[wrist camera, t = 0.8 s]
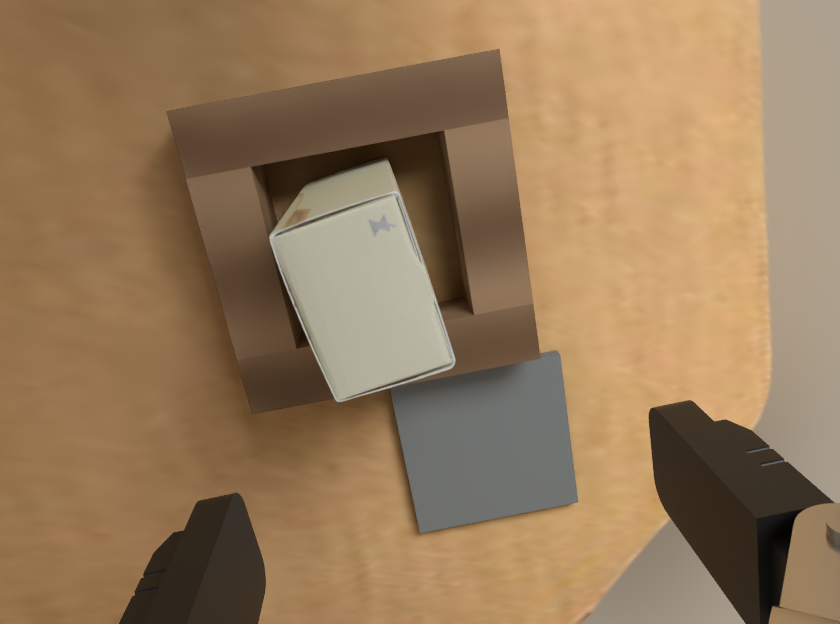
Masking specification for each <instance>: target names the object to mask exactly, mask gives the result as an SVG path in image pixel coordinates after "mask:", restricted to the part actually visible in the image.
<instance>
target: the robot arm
mask: <svg viewBox="0 0 840 624" xmlns="http://www.w3.org/2000/svg"><path fill="white" fill-rule="evenodd" d="M649 428H650V438H651V449H652V460H653V471H654V480H655V485H656V489H657V492H658V495H659V498H660V501H661V503H662V505H663V507H664V509H665V510H666V512H667V513H668V515H669V516H670V518H671V519H672V521H673V522H674V523H675V525H676V526H677V528H678V529H679V530H680V532H681V533H682V535H683V536H684V537H685V539H686V540H687V542H688V543H689V544H690V546H691V547H692V549H693V550H694V551H695V553H696V554H697V555H698V557H699V558H700V560H701V561H702V563H703V564H704V565H705V567H706V568H707V570H708V571H709V573H710V574H711V575H712V577H713V578H714V580H715V581H716V582H717V584H718V585H719V587H720V588H721V590H722V591H723V592H724V594H725V595H726V597H727V598H728V599H729V601H730V602H731V603H732V605H733V606H734V608H735V609H736V611H737V612H738V613H739V615H740V616H741V618H742V619H743V620H744V622H745V623H746V624H840V503H834V502H833V501H832V500H831V499H830V498H828V497H827V496H826V495H825V494H824V493H822V492H821V491H820V490H819V489H818V488H817V487H816V486H815V485H813V484H812V483H811V482H810V481H809V480H808V479H807V478H805V477H804V476H803V475H802V474H801V473H800V472H798V471H797V470H796V469H795V468H794V467H793V466H792V465H791V464H789V463H788V462H785V461H784V459H783V457H781V456H780V455H779V454H778V453H777V452H776V451H774V450H773V449H770V448H769V445H768V444H766V443H765V442H764V441H763V440H762V439H761V438H760V437H758V436H757V435H756V434H755V433H754V432H753V431H752V430H749V429H747V428H745V427H742V426H740V425H737V424H735V423H733V422H730V421H728V420H726V419H725V420H721V421H716V422H714V421H713V420H712V419H711V418H710V417H709V416H708V415H707V414H706V413H705V412H704V411H703V410H702V409H700V408H699V407H698V406H697V405H696V404H695V403H694V402H693V401H691V400H688V401H683V402H678V403H673V404H668V405H663V406H659V407H654V408H651V409H650V412H649ZM143 575H144V578H141V580H140V582H139V584H138V586H137V588H136V590H135V596H132V598H131V600H130V602H129V604H128V606H127V608H126V610H125V612H124V614H123V616H122V618H121V620H120V623H119V624H258V621H259V617H260V612H261V608H262V603H263V599H264V594H265V587H266V577H265V568H264V562H263V558H262V555H261V552H260V549H259V546H258V543H257V540H256V537H255V534H254V531H253V528H252V525H251V522H250V518H249V515H248V512H247V509H246V506H245V503H244V501H243V499H242V497H241V496H240V494H238V493H233V494H229V495H224V496H219V497H214V498H209V499H204V500H200V501H198V502H197V503H196V505H195V507H194V509H193V511H192V514H191V516H190V518H189V520H188V523H187V525H186V527H185V529H184V531H179V532H174V533H173V534H172V535H171V536H170V537H169V538H168V539H167V540H166V541H165V542H164V543H163V544H162V545H161V546H160V547H159V548H158V549H157V550H156V551H155V552H154V553H153V555H152V557H151V559H150V561H149V563H148V566H147V568H146V570H145V572H144V574H143Z"/></svg>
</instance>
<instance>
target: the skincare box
mask: <svg viewBox="0 0 840 624" xmlns="http://www.w3.org/2000/svg"><path fill="white" fill-rule="evenodd" d="M269 241H270V244H271V247H272V250H273V253H274V256H275V259H276V262H277V265H278V267H279V270H280V273H281V276H282V278H283V281H284V284H285V286H286V289H287V292H288V294H289V296H290V299H291V301H292V304H293V306H294V309H295V311H296V313H297V316H298V318H299V321H300V323H301V325H302V328H303V330H304V332H305V335H306V337H307V339H308V342H309V344H310V346H311V349H312V351H313V353H314V355H315V357H316V360H317V362H318V364H319V366H320V368H321V370H322V373H323V375H324V377H325V380H326V382H327V384H328V386H329V388H330V390H331V392H332V394H333V396H334V399H335V401H336V402H344V401H347V400H350V399H353V398H356V397H360V396H364V395H368V394H371V393H374V392H378V391H382V390H385V389H389V388H392V387H396V386H398V385H401V384H405V383H408V382H412V381H415V380H419V379H422V378H425V377H428V376H431V375H434V374H437V373H441V372H444V371H447V370H449V369H452V368H453V367H454V365H455V362H456V360H455V356H454V353H453V349H452V346H451V343H450V340H449V337H448V334H447V331H446V327H445V324H444V321H443V318H442V315H441V312H440V309H439V305H438V302H437V299H436V296H435V293H434V290H433V287H432V284H431V280H430V277H429V274H428V271H427V268H426V265H425V262H424V259H423V256H422V253H421V250H420V247H419V244H418V241H417V238H416V235H415V233H414V230H413V227H412V224H411V221H410V218H409V215H408V212H407V209H406V206H405V203H404V201H403V198H402V195H401V192H400V189H399V186H398V184H397V181H396V178H395V176H394V173H393V170H392V168H391V165H390V163H389V160H388V158H387V157H384V158H380V159H377V160H374V161H370V162H367V163H364V164H360V165H357V166H354V167H351V168H348V169H345V170H342V171H339V172H336V173H333V174H330V175H328V176H325V177H322V178H319V179H317V180H314V181H312V182H309V183H307V184H306V185H305V186H304V188H303V189H302V190H301V192H300V193H299V195H298V196H297V197H296V199H295V200H294V202H293V203H292V204H291V205H290V207H289V208H288V210H287V211H286V213H285V214H284V215H283V217H282V218H281V220H280V221H279V223H278V224H277V225H276V227H275V228H274V230H273V231H272V233H271V234H270V236H269Z"/></svg>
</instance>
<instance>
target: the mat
mask: <svg viewBox="0 0 840 624" xmlns="http://www.w3.org/2000/svg"><path fill="white" fill-rule="evenodd" d="M390 393H391V397H392V402H393V407H394V412H395V416H396V421H397V426H398V431H399V435H400V440H401V445H402V450H403V454H404V459H405V464H406V469H407V473H408V478H409V483H410V488H411V492H412V497H413V502H414V507H415V511H416V516H417V521H418V526H419V530H420V533H424V532H429V531H434V530H439V529H444V528H449V527H455V526H460V525H465V524H470V523H475V522H480V521H485V520H491V519H496V518H501V517H506V516H511V515H516V514H521V513H527V512H532V511H537V510H542V509H547V508H552V507H557V506H563V505H568V504H573V503H578V497H577V489H576V481H575V472H574V464H573V456H572V448H571V440H570V432H569V424H568V415H567V407H566V399H565V391H564V383H563V375H562V367H561V358H560V354H559V352H558V351H551V352H546V353H541V354H540V359H537V360H531V361H526V362H521V363H516V364H511V365H505V366H500V367H495V368H490V369H485V370H479V371H474V372H469V373H464V374H458V375H453V376H448V377H443V378H438V379H432V380H427V381H422V382H417V383H412V384H406V385H401V386H396V387H392V388H390Z"/></svg>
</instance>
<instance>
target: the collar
mask: <svg viewBox="0 0 840 624" xmlns="http://www.w3.org/2000/svg"><path fill="white" fill-rule="evenodd" d="M167 115H168V118H169V122H170V126H171V129H172V133H173V136H174V140H175V143H176V147H177V150H178V154H179V157H180V161H181V164H182V168H183V171H184V175H185V179H186V182H187V186H188V189H189V193H190V196H191V200H192V203H193V207H194V210H195V214H196V217H197V221H198V224H199V228H200V232H201V235H202V239H203V242H204V246H205V249H206V253H207V256H208V260H209V263H210V267H211V270H212V274H213V277H214V281H215V284H216V288H217V292H218V295H219V299H220V302H221V306H222V309H223V313H224V316H225V320H226V323H227V327H228V330H229V334H230V337H231V341H232V345H233V348H234V352H235V355H236V359H237V362H238V366H239V369H240V373H241V376H242V380H243V383H244V387H245V390H246V394H247V397H248V401H249V405H250V408H251V412H252V414H256V413H261V412H266V411H271V410H276V409H282V408H287V407H292V406H297V405H302V404H308V403H313V402H318V401H323V400H328V399H334V396H333V394H332V392H331V390H330V388H329V386H328V384H327V382H326V380H325V377H324V375H323V373H322V370H321V368H320V366H319V364H318V362H317V360H316V357H315V355H314V353H313V351H312V349H311V346H310V344H309V342H308V339H307V337H306V335H305V332H304V330H303V328H302V325H301V323H300V321H299V318H298V316H297V313H296V311H295V309H294V306H293V304H292V301H291V299H290V296H289V294H288V292H287V289H286V286H285V284H284V281H283V278H282V276H281V273H280V270H279V267H278V265H277V262H276V259H275V256H274V253H273V250H272V247H271V244H270V241H269V236H270V234H271V233H272V231H273V230H274V228H275V227H276V225H277V220H276V216H275V212H274V208H273V204H272V200H271V196H270V191H269V187H268V183H267V179H266V175H265V171H264V167H263V164H269V163H274V162H279V161H284V160H290V159H295V158H300V157H306V156H311V155H316V154H322V153H327V152H332V151H338V150H343V149H348V148H353V147H359V146H364V145H369V144H375V143H380V142H385V141H391V140H396V139H401V138H407V137H412V136H417V135H422V134H428V133H433V132H438V133H439V139H440V145H441V151H442V157H443V163H444V169H445V175H446V182H447V188H448V194H449V200H450V206H451V212H452V218H453V224H454V230H455V236H456V242H457V248H458V254H459V260H460V266H461V273H462V279H463V285H464V291H465V297H466V298H461V299H456V300H450V301H445V302H440V303H438V305H439V309H440V312H441V315H442V318H443V321H444V324H445V327H446V331H447V334H448V337H449V340H450V343H451V346H452V349H453V353H454V356H455V360H456V362H455V365H454V367H453V368H452V369H449V370H447V371H444V372H441V373H437V374H434V375H431V376H428V377H425V378H422V379H419V380H415V381H412V382H408V383H405V384H401V385H406V384H412V383H417V382H422V381H427V380H432V379H438V378H443V377H448V376H453V375H458V374H464V373H469V372H474V371H479V370H485V369H490V368H495V367H500V366H505V365H511V364H516V363H521V362H526V361H531V360H537V359H540V351H539V344H538V336H537V329H536V321H535V314H534V306H533V299H532V291H531V284H530V276H529V269H528V261H527V254H526V246H525V238H524V231H523V223H522V216H521V208H520V201H519V193H518V186H517V178H516V171H515V163H514V156H513V148H512V141H511V133H510V125H509V118H508V110H507V103H506V95H505V88H504V80H503V73H502V65H501V58H500V50H499V49H496V50H491V51H486V52H480V53H475V54H470V55H464V56H459V57H454V58H448V59H443V60H438V61H432V62H427V63H422V64H416V65H411V66H406V67H400V68H395V69H390V70H384V71H379V72H374V73H368V74H363V75H358V76H352V77H347V78H342V79H336V80H331V81H326V82H320V83H315V84H310V85H304V86H299V87H294V88H288V89H283V90H278V91H272V92H267V93H262V94H256V95H251V96H246V97H240V98H235V99H229V100H224V101H219V102H213V103H208V104H203V105H197V106H192V107H187V108H181V109H176V110H171V111H167ZM401 385H398V386H401Z"/></svg>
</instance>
